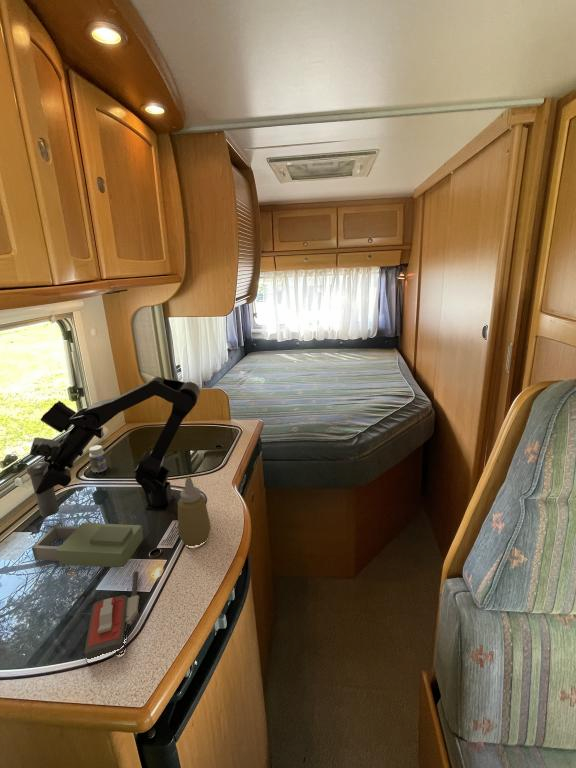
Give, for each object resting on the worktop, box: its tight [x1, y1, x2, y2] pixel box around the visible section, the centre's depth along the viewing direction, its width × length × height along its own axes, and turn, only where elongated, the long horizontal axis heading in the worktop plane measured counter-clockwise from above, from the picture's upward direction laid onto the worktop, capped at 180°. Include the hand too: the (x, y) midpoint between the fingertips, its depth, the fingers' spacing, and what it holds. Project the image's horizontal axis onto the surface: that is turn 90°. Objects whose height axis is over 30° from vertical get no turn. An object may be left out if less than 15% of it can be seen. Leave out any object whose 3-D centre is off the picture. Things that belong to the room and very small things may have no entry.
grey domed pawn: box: [26, 461, 60, 518], centre depth 103 cm, size 5×5×14 cm
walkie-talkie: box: [83, 570, 140, 659], centre depth 76 cm, size 9×4×20 cm
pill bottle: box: [88, 444, 108, 473], centre depth 131 cm, size 5×5×8 cm
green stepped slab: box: [31, 522, 144, 568], centre depth 94 cm, size 23×10×5 cm, turn 84°
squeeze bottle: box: [177, 477, 212, 546], centre depth 94 cm, size 8×8×18 cm
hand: (37, 489), depth 102 cm, fingers closed on grey domed pawn, 4 cm apart
